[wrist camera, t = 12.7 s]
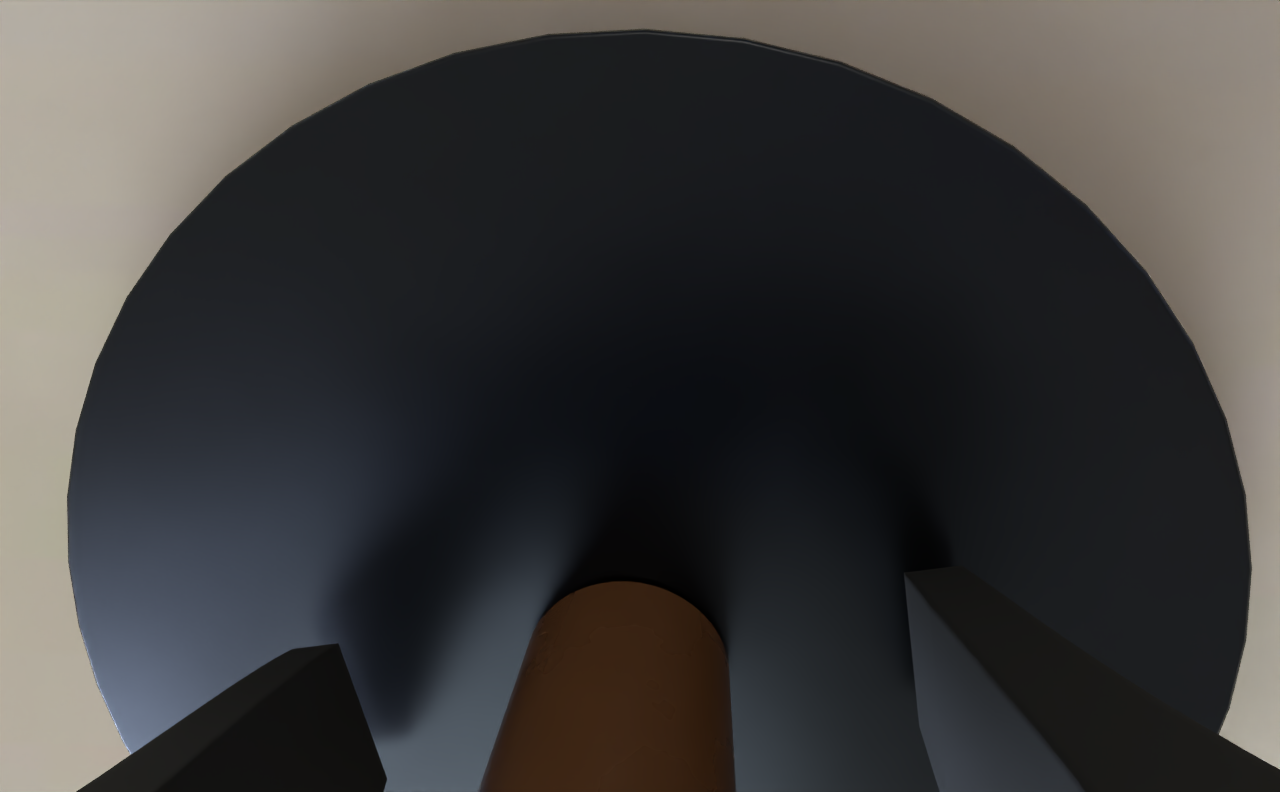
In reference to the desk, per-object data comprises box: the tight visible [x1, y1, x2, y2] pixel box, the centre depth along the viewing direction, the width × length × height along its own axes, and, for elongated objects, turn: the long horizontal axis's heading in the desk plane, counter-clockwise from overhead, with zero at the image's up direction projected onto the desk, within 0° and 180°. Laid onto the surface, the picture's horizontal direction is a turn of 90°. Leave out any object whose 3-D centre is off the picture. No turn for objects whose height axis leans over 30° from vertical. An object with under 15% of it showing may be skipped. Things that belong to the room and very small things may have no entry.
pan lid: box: [67, 29, 1252, 792], centre depth 8 cm, size 14×14×5 cm
